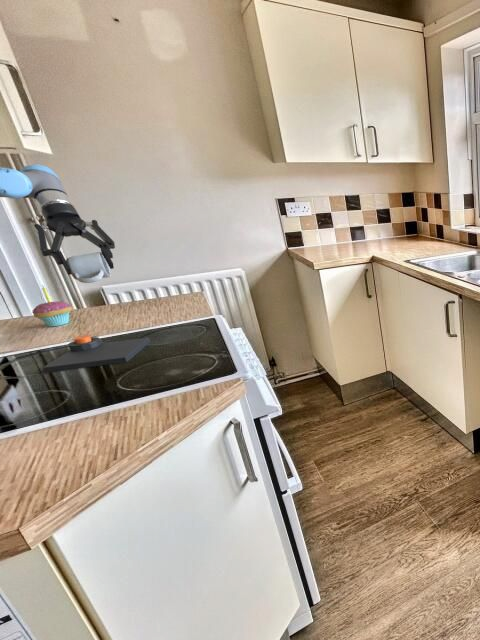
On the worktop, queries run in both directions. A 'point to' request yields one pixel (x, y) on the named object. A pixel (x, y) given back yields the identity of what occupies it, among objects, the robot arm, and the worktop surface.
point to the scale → (97, 354)
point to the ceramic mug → (88, 267)
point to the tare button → (82, 339)
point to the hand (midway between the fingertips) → (91, 268)
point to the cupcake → (53, 312)
